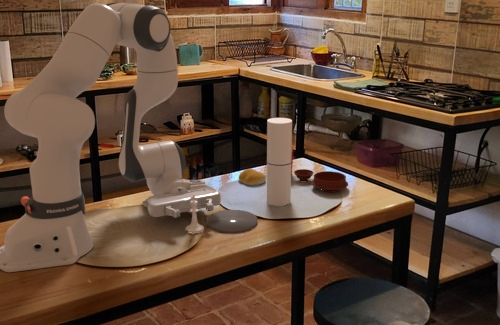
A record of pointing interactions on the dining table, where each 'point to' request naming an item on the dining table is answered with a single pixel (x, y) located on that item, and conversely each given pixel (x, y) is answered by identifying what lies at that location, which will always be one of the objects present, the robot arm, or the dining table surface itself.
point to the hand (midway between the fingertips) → (194, 211)
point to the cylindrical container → (279, 161)
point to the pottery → (323, 179)
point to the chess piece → (194, 218)
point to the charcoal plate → (231, 221)
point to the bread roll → (252, 177)
